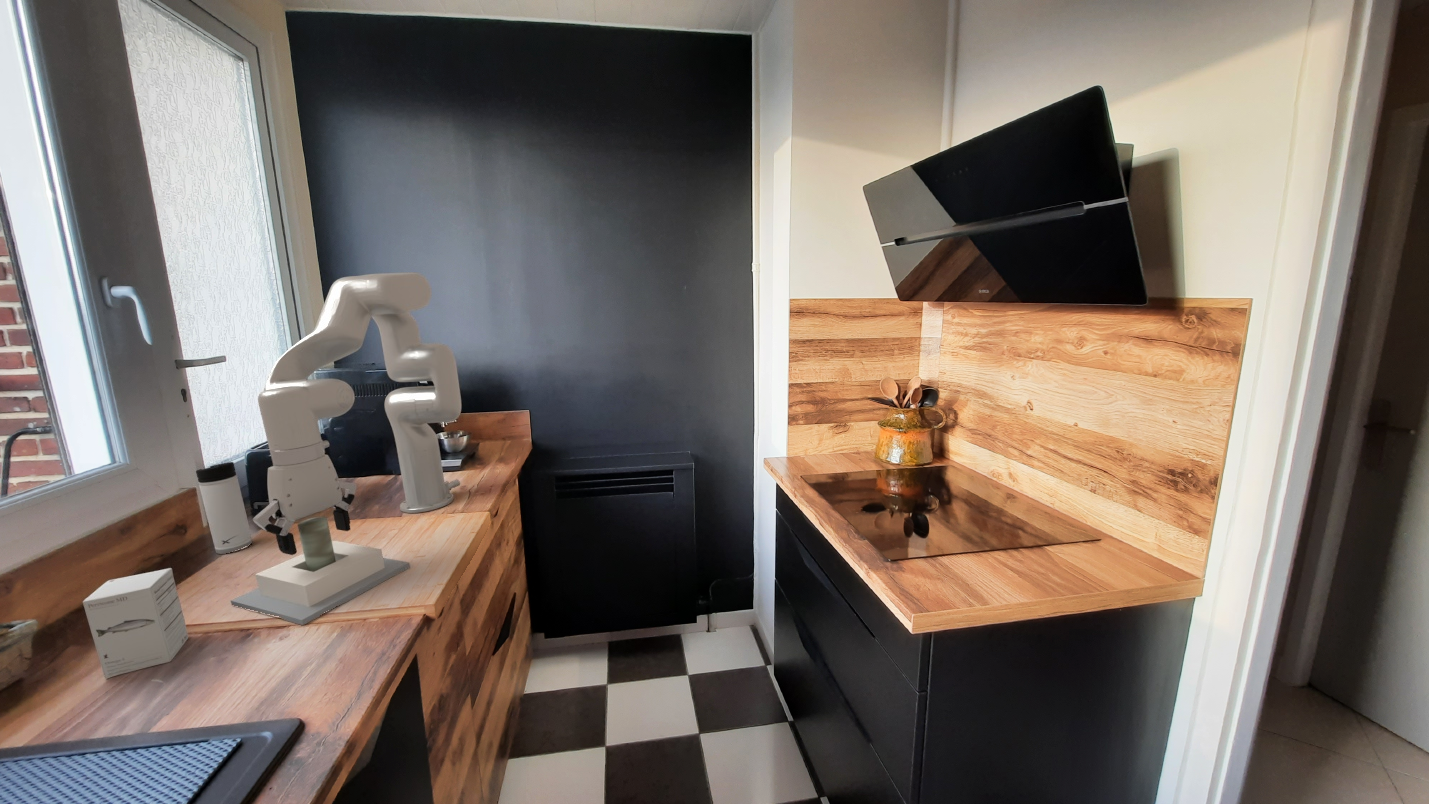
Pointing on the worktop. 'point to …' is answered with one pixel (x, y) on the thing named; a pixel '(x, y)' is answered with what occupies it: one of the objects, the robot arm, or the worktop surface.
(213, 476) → the travel mug
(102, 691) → the worktop surface
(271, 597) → the socket block
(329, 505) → the robot arm
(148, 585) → the supplement box
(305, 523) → the peg
